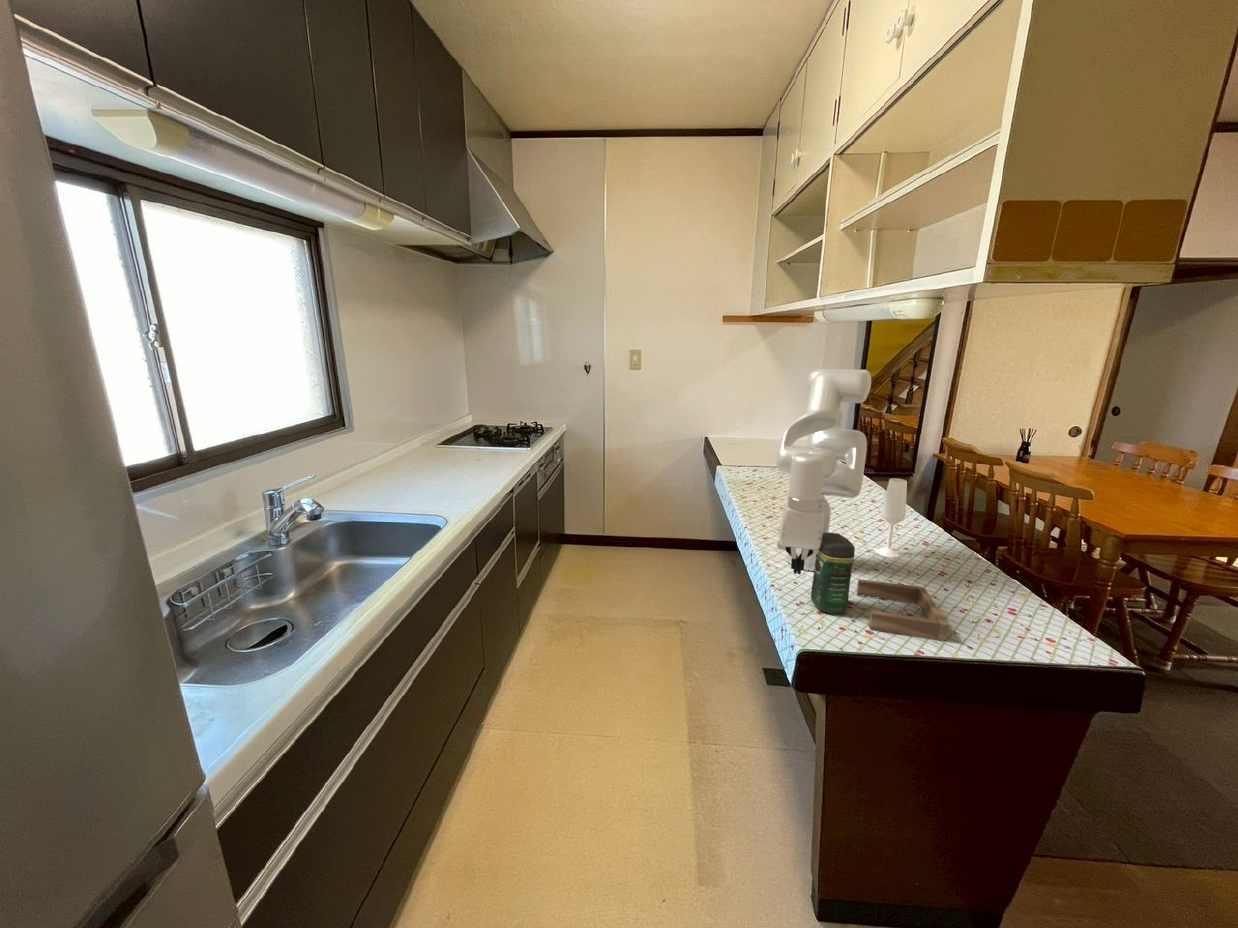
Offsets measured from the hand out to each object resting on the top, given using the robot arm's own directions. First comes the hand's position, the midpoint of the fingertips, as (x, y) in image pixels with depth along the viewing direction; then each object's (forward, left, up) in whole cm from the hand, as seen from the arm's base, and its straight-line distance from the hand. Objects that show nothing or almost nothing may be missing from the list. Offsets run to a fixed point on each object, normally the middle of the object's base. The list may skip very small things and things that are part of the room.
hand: (796, 571), depth 125 cm
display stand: (0, +23, -8) cm, 25 cm away
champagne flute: (-40, +30, -8) cm, 51 cm away
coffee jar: (0, +8, -8) cm, 12 cm away
